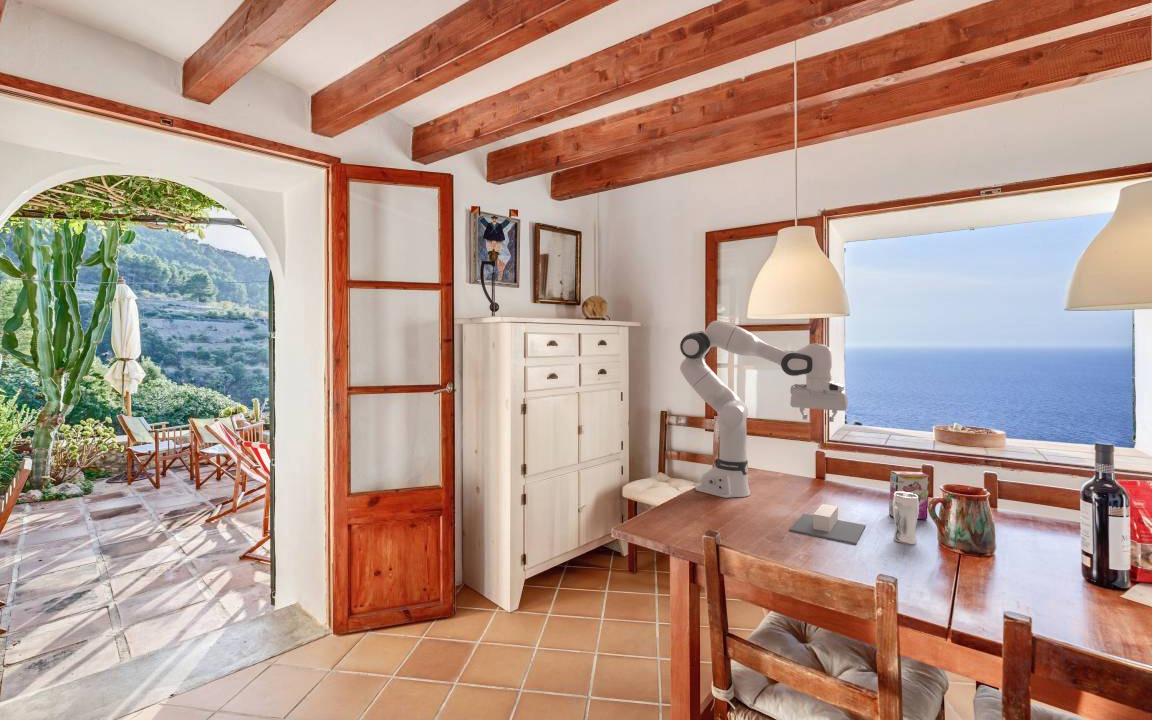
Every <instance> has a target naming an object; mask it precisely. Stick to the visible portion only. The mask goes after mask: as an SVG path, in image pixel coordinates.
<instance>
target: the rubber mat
mask: <svg viewBox="0 0 1152 720" xmlns="http://www.w3.org/2000/svg"><path fill="white" fill-rule="evenodd" d="M813 517H814V514H809V513H802V515H801V516H800V517H798V519H797V520H796V521H795V522H794V524H793V525H792V526H791V527H790V528H788V531H789V532H792V533H793V532H794V533H798V534H802V535H806V534H808V535H807V536H811V535H813V536H812V537H816V536H818V537H817V538H821V537H822V538H821V539H825V538H826V540H830V539H831V540H832V541H835V540H836V541H835V542H840V541H841V542H840V543H844V542H846V544H849V543H850V545H854V544H855V545H854V546H856V545H857V544H858V542H859V540H860V539H861V536H862V535H863V533H862V532H864V531H863V530H865V529H866V524H862V523H858V522H851V521H847V520H840V519H838V521H837V522H836V524H835V525H834V526H833V528H832V529H831V531H830V532H827V531H822V530H817V529H813Z"/></svg>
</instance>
